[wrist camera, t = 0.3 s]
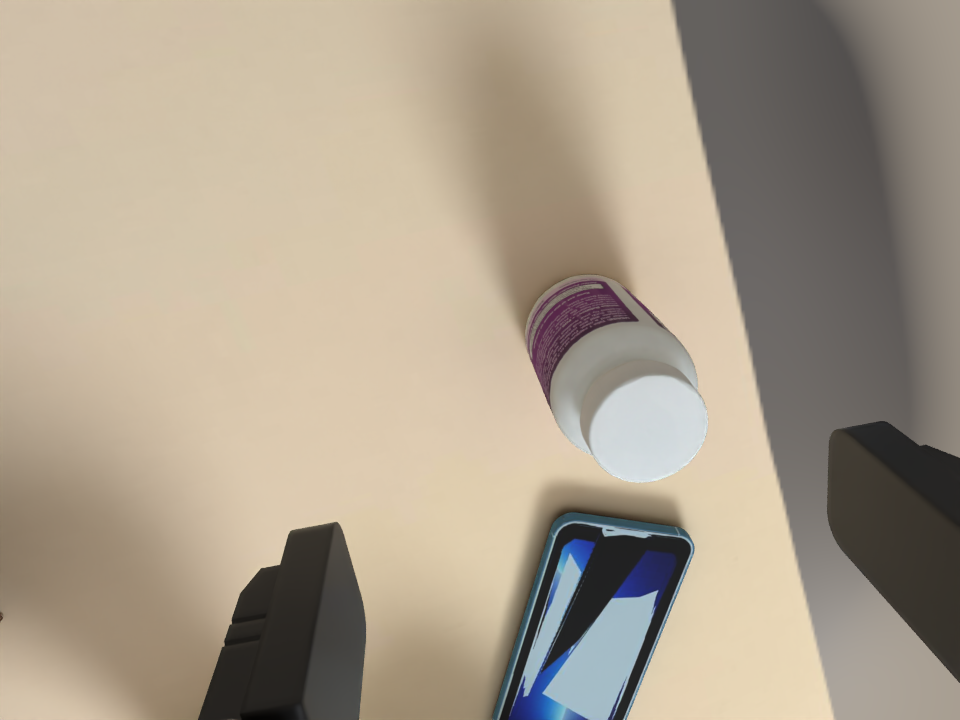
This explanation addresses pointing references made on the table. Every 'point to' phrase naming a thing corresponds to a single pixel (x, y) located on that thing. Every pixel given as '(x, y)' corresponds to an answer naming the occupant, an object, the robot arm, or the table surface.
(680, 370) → the pill bottle
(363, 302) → the table surface
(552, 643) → the smartphone
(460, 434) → the table surface
